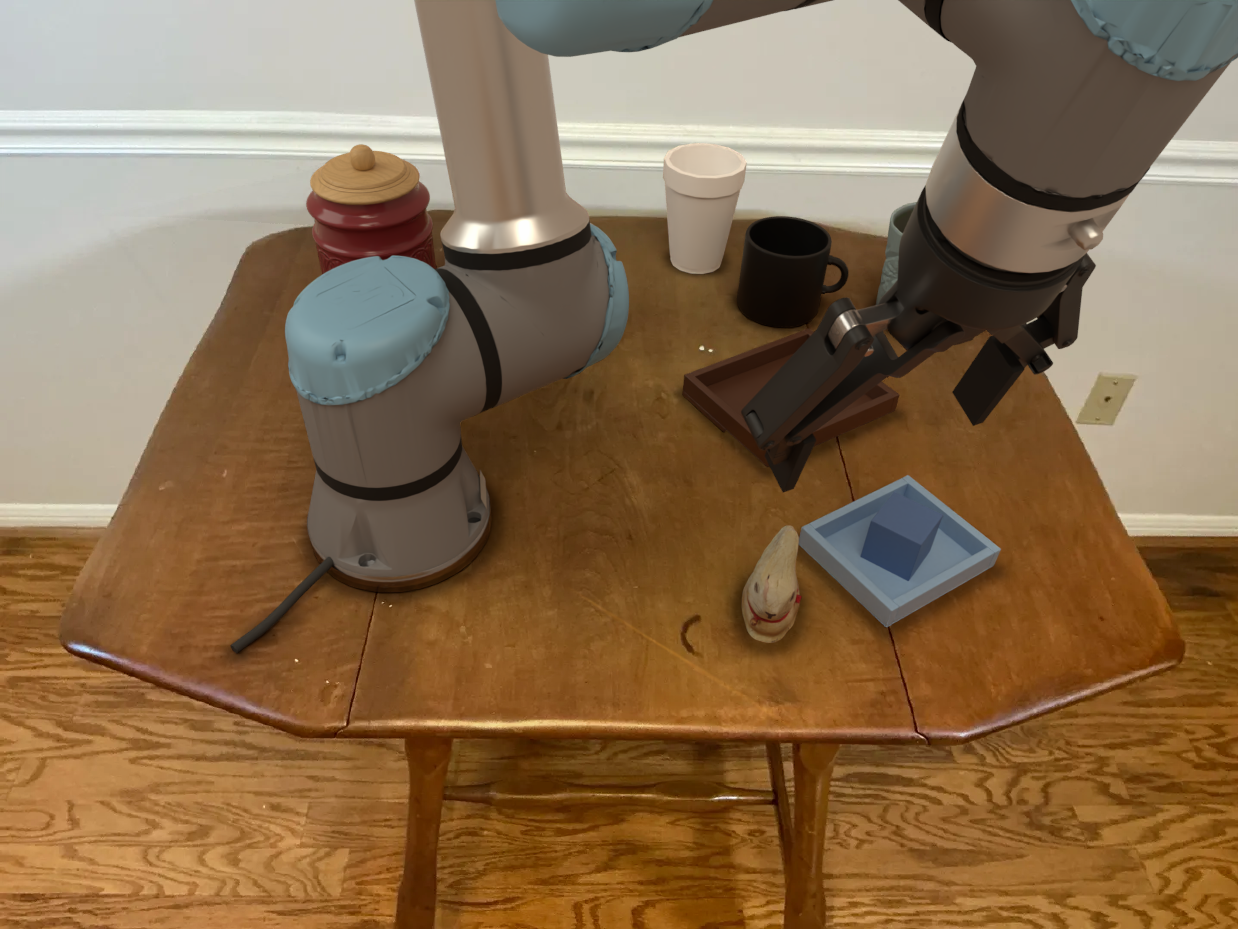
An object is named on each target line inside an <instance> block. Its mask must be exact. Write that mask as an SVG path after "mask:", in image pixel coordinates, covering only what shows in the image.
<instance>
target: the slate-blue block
mask: <svg viewBox="0 0 1238 929" xmlns="http://www.w3.org/2000/svg"><path fill="white" fill-rule="evenodd" d="M942 517H943V514H940V513H938V512H936V511H934V510H932V509H930V508H928V507H926V506H923V505H921V504H919V503H917V502H915V501H913V500H911V499H909V498H906V497H904V496H902V495H900V494H898V493H896V492H893V494H892V495H891V496H890V497H889V499H888V500H887V501H886V502H885V504H884V505H883V506H882V507H881V509H880V510H879V511H878V512H877V514H876V515H875V516H874V517H873V519H872V520H871V522H870V526H869V529H868V532H867V536H866V539H865V543H864V546H863V549H862V553H861V556H860V557H862V558H864V559H866V560H868V561H869V562H871V563H873V564H875V565H877V566H879V567H881V568H883V569H885V570H887V571H889V572H891V573H893V574H895V575H897V576H899V577H901V578H903V579H905V580H907V581H909V580H910V579H911V577H912V576H913V574H914V573H915V572H916V570H917V569H918V567H919V566H920V565H921V563H922V562H923V560H924V559H925V558H926V556H927V555H928V553H929V552H930V550H931V547H932V544H933V542H934V539H935V536H936V533H937V531H938V528H939V525H940V522H941V520H942Z"/></svg>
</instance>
